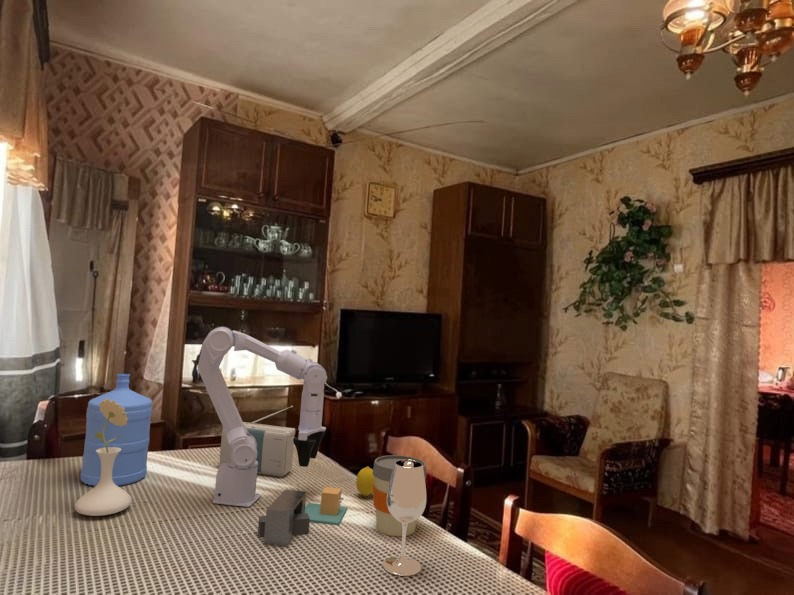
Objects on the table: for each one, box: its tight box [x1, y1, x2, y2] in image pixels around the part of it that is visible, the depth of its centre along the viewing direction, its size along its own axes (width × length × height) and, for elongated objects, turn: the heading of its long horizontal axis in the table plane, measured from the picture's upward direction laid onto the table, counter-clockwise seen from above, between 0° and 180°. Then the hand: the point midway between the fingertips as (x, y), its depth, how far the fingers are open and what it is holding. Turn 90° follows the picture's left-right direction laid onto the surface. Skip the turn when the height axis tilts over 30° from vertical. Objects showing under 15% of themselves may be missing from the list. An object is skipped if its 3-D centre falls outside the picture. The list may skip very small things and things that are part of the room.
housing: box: [263, 489, 307, 547], centre depth 111 cm, size 5×12×7 cm, turn 174°
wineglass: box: [382, 460, 427, 577], centre depth 99 cm, size 8×8×20 cm
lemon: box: [355, 466, 374, 498], centre depth 136 cm, size 6×6×8 cm
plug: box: [320, 486, 344, 515], centre depth 123 cm, size 5×4×5 cm
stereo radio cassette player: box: [219, 405, 296, 478], centre depth 152 cm, size 21×8×20 cm, turn 77°
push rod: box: [257, 513, 311, 538], centre depth 111 cm, size 10×3×4 cm, turn 110°
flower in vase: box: [73, 399, 133, 517], centre depth 116 cm, size 13×11×25 cm
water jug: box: [80, 373, 153, 487], centre depth 137 cm, size 16×16×28 cm
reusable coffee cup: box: [372, 454, 427, 537], centre depth 117 cm, size 13×13×15 cm
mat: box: [305, 502, 348, 526], centre depth 122 cm, size 10×10×1 cm
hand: (307, 462), depth 132 cm, fingers open, 7 cm apart
